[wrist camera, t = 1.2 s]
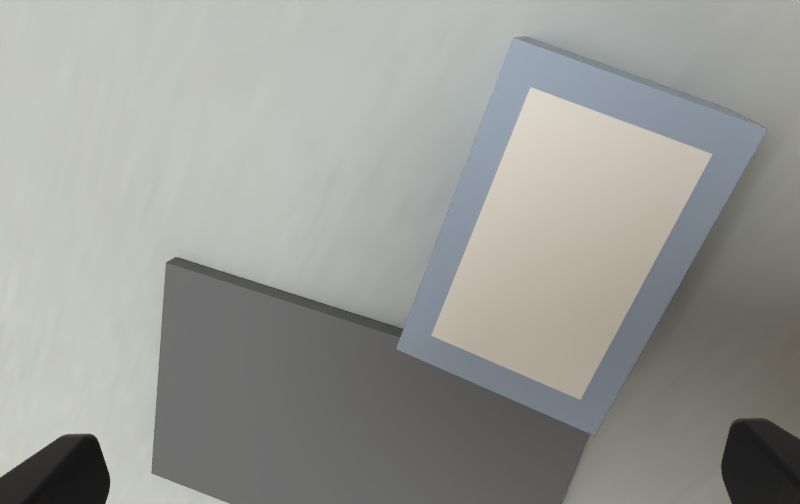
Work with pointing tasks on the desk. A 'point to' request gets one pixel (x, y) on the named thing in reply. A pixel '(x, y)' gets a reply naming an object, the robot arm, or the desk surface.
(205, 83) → the desk surface
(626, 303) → the card deck
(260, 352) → the mat
